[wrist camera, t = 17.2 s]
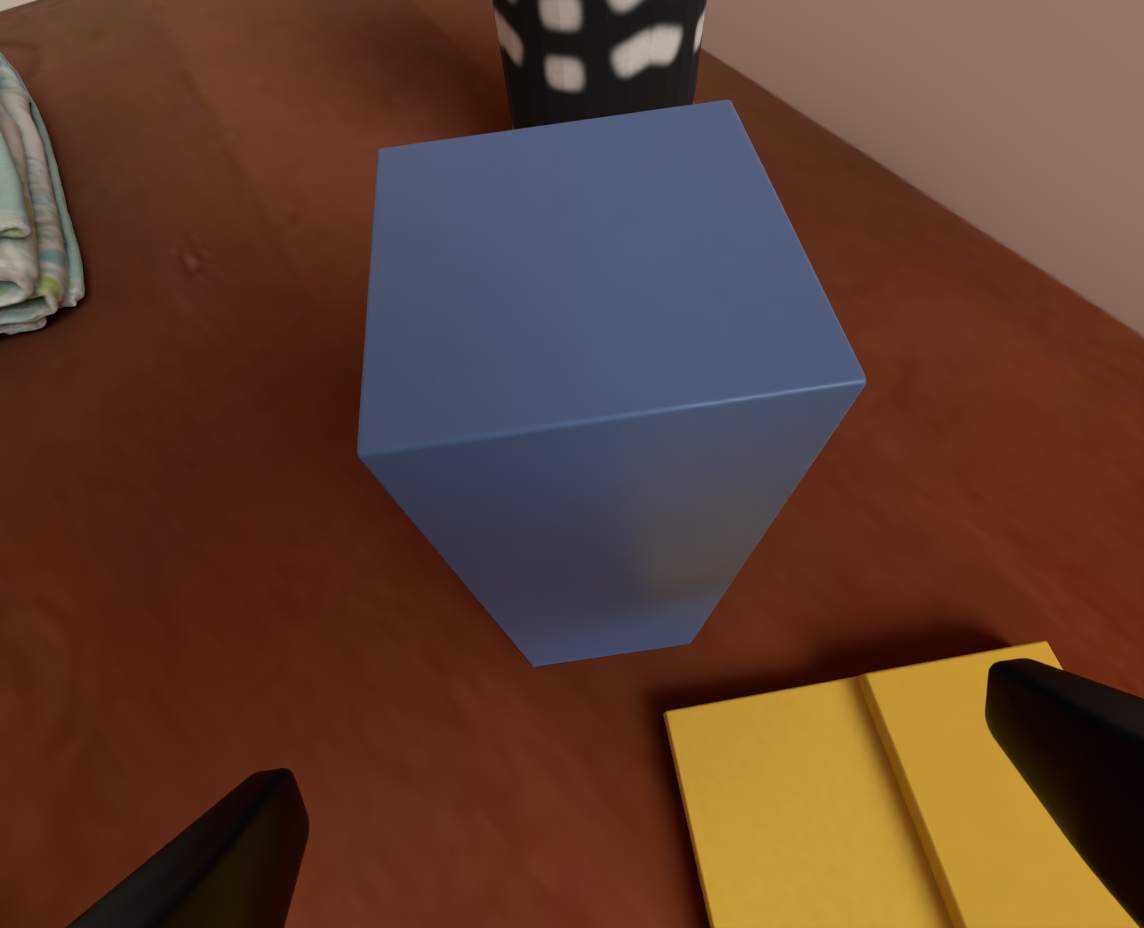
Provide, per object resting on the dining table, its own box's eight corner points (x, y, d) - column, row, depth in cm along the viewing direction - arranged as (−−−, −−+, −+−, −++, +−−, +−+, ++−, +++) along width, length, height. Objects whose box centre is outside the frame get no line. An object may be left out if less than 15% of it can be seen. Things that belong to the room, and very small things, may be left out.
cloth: (1269, 1116, 11) (1345, 1157, 10) (773, 1216, 11) (793, 1271, 9) (1017, 648, 15) (1050, 639, 14) (662, 713, 15) (666, 709, 14)
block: (691, 643, 16) (871, 381, 5) (532, 667, 16) (353, 456, 5) (658, 500, 18) (731, 96, 7) (519, 520, 18) (375, 146, 7)
